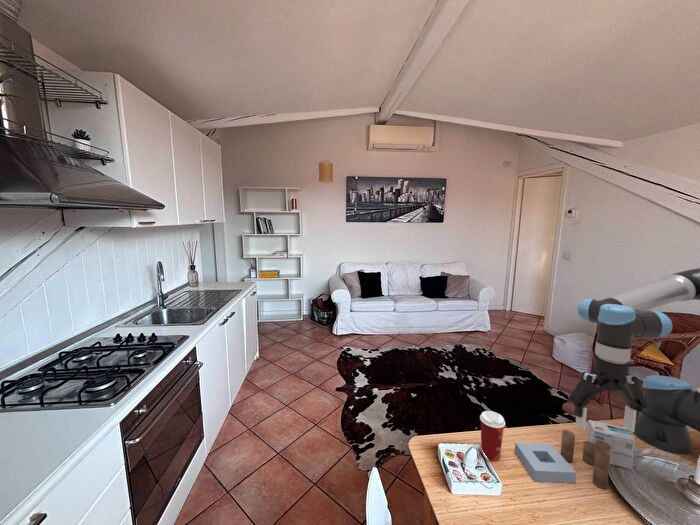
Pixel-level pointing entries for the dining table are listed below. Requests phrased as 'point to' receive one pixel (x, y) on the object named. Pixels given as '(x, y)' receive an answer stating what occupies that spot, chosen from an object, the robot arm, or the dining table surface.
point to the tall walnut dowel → (601, 464)
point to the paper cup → (491, 434)
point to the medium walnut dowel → (567, 445)
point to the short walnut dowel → (589, 453)
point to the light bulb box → (614, 442)
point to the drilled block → (545, 463)
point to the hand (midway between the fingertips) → (604, 427)
